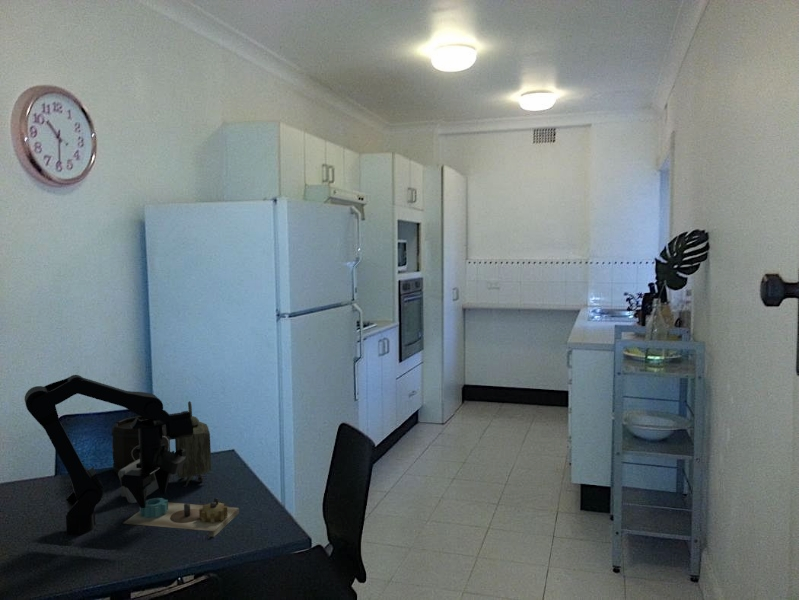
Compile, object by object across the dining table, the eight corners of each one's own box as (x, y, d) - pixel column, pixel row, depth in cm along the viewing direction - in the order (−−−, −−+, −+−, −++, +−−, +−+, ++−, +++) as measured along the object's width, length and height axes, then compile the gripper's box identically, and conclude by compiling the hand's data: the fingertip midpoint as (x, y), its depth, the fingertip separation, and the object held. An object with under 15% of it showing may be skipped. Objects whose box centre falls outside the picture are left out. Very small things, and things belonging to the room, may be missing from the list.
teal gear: (158, 519, 164) (158, 508, 163) (134, 517, 165) (134, 506, 165) (173, 508, 170) (172, 497, 170) (149, 506, 172) (149, 496, 171)
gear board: (213, 536, 157) (213, 513, 157) (122, 528, 162) (121, 505, 161) (238, 513, 171) (238, 491, 170) (154, 506, 176) (153, 485, 175)
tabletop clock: (176, 477, 198) (173, 397, 195) (206, 473, 201) (204, 395, 199) (179, 493, 184) (176, 409, 182) (212, 489, 188) (209, 405, 186)
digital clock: (132, 510, 174) (130, 472, 173) (108, 504, 177) (106, 467, 176) (175, 489, 188) (174, 454, 187) (152, 484, 192) (151, 450, 191)
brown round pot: (185, 465, 208) (183, 418, 207) (137, 483, 193) (135, 432, 191) (148, 456, 217) (146, 411, 216) (100, 473, 202) (98, 424, 200)
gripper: (159, 456, 155) (161, 518, 157) (197, 433, 174) (199, 489, 175) (117, 453, 157) (120, 514, 159) (160, 431, 176) (162, 486, 177)
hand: (153, 500), depth 167 cm, fingers open, 9 cm apart
